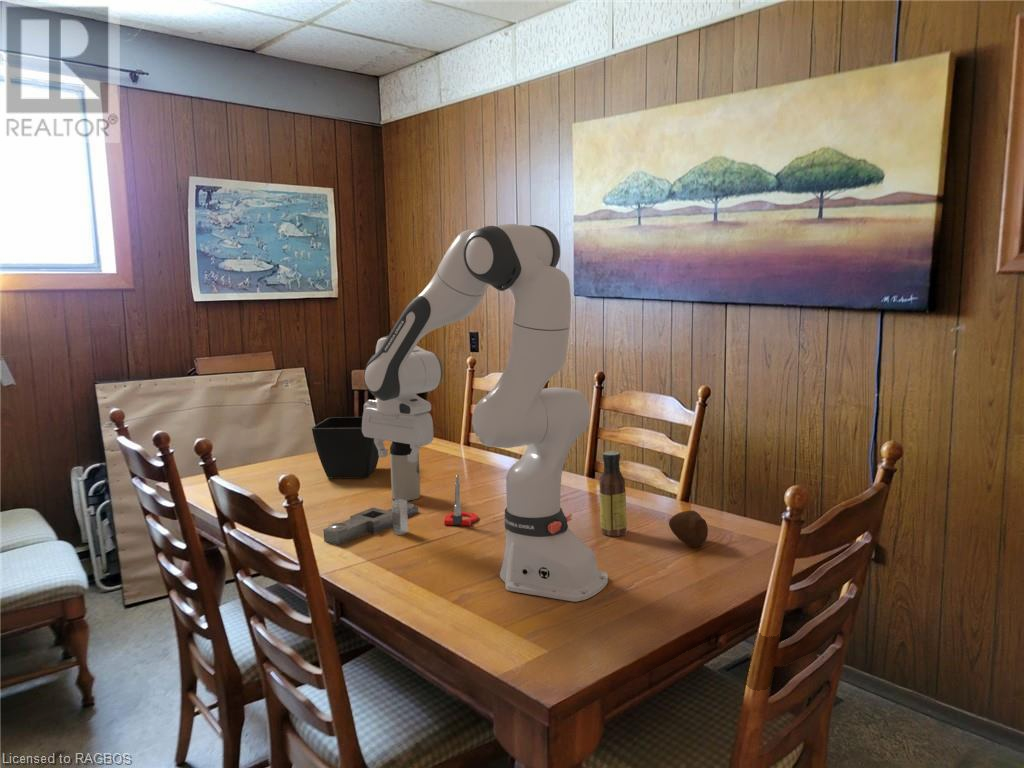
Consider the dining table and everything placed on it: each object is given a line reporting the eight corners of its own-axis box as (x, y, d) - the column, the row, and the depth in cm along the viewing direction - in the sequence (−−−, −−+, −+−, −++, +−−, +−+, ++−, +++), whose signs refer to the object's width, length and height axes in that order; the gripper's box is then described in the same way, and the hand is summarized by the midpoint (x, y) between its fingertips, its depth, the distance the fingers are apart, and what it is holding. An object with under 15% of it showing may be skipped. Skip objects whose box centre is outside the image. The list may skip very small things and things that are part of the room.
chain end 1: (396, 524, 183) (396, 510, 182) (343, 546, 168) (342, 531, 167) (373, 518, 187) (373, 504, 187) (319, 540, 172) (318, 525, 172)
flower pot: (331, 465, 240) (328, 416, 238) (387, 465, 239) (385, 415, 237) (313, 482, 222) (310, 428, 219) (374, 481, 221) (372, 427, 218)
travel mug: (387, 500, 202) (384, 437, 199) (398, 492, 209) (396, 431, 207) (414, 502, 200) (412, 439, 197) (424, 494, 208) (422, 432, 205)
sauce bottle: (627, 529, 177) (628, 450, 174) (624, 538, 171) (625, 456, 168) (601, 527, 178) (601, 448, 175) (597, 536, 172) (597, 455, 169)
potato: (695, 553, 161) (695, 519, 160) (662, 541, 169) (662, 508, 168) (716, 546, 165) (717, 513, 164) (683, 534, 173) (684, 502, 172)
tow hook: (449, 515, 190) (440, 525, 181) (448, 467, 189) (440, 475, 180) (480, 516, 189) (473, 527, 180) (480, 468, 188) (473, 476, 179)
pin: (408, 532, 177) (406, 500, 176) (400, 535, 175) (399, 503, 174) (400, 530, 178) (399, 498, 177) (392, 533, 176) (391, 501, 175)
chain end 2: (422, 513, 191) (422, 505, 191) (374, 533, 176) (373, 525, 176) (400, 508, 195) (399, 500, 195) (350, 527, 181) (350, 519, 180)
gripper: (354, 400, 175) (357, 456, 177) (418, 408, 164) (420, 468, 166) (373, 396, 180) (375, 450, 182) (436, 404, 169) (438, 461, 171)
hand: (397, 459), depth 174 cm, fingers open, 8 cm apart
